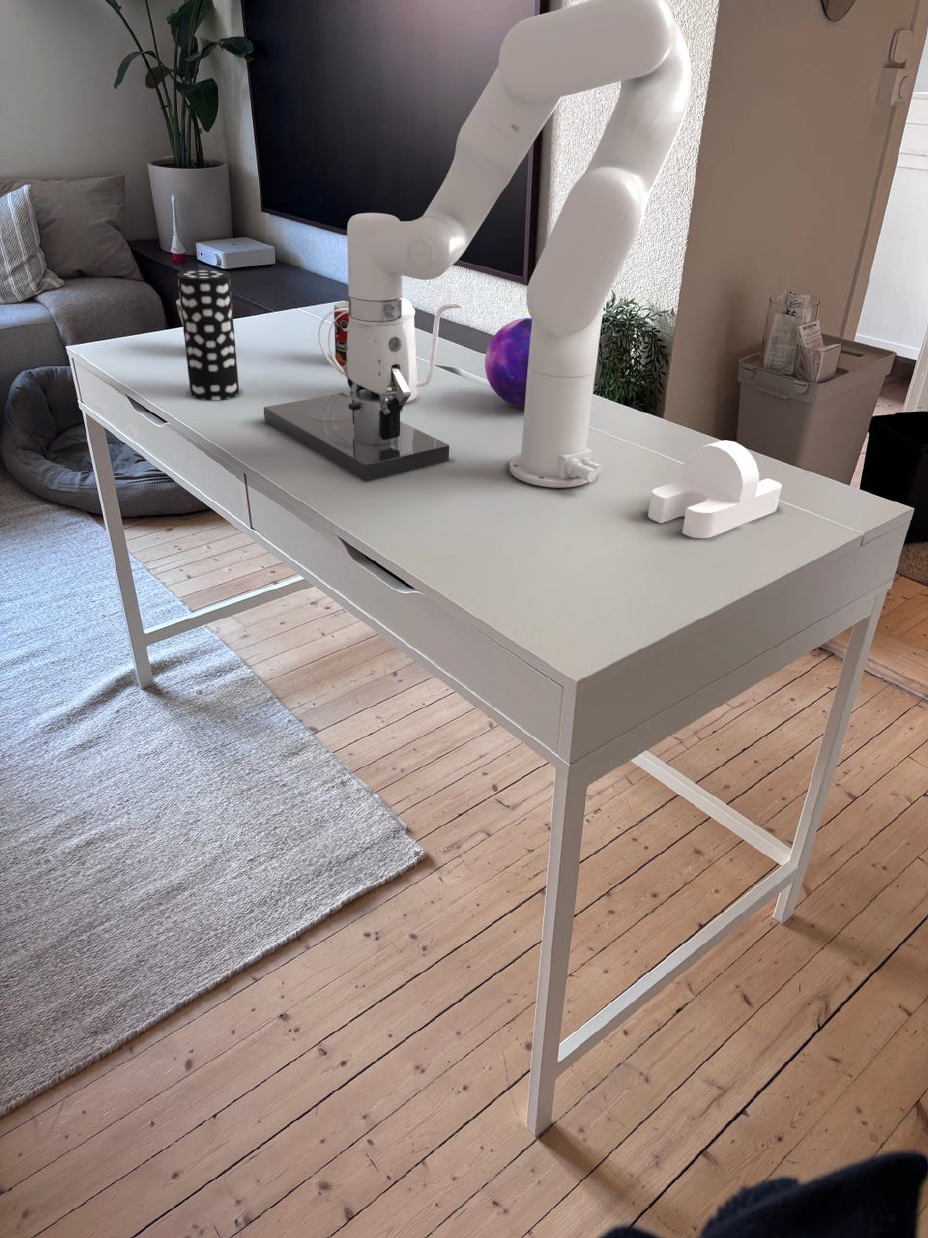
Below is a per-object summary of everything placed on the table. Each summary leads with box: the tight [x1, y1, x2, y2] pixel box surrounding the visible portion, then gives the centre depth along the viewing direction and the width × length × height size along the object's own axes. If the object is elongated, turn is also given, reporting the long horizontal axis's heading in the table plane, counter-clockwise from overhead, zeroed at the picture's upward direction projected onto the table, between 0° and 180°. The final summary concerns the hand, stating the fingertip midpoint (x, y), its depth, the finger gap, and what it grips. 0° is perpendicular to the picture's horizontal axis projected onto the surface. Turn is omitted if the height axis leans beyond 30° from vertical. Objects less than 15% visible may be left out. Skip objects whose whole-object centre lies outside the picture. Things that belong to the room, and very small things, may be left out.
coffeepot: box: [317, 296, 465, 404], centre depth 162 cm, size 11×25×19 cm, turn 84°
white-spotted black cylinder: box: [177, 268, 240, 401], centre depth 159 cm, size 8×8×20 cm
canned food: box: [333, 300, 349, 367], centre depth 182 cm, size 8×8×11 cm
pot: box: [349, 389, 398, 445], centre depth 140 cm, size 7×9×7 cm
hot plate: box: [263, 392, 450, 482], centre depth 146 cm, size 30×15×2 cm, turn 39°
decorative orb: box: [484, 317, 532, 408], centre depth 162 cm, size 15×15×15 cm
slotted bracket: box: [647, 439, 783, 539], centre depth 126 cm, size 18×10×10 cm, turn 130°
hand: (376, 429), depth 141 cm, fingers closed on pot, 6 cm apart
